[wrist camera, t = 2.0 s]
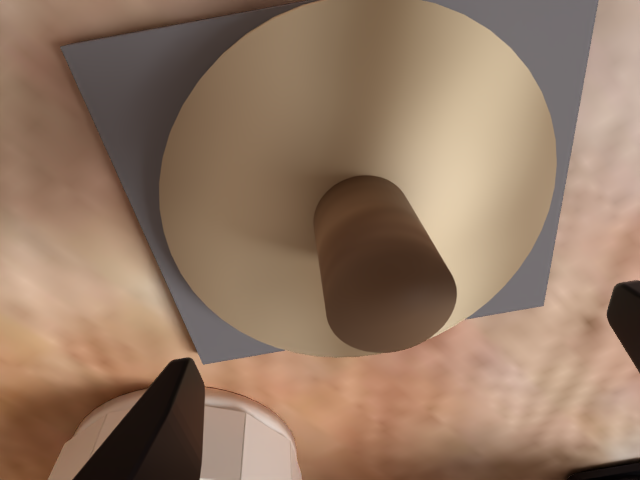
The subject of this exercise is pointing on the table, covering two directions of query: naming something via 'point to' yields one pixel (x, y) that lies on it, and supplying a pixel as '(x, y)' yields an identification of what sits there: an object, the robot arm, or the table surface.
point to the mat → (222, 32)
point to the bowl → (218, 439)
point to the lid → (357, 176)
